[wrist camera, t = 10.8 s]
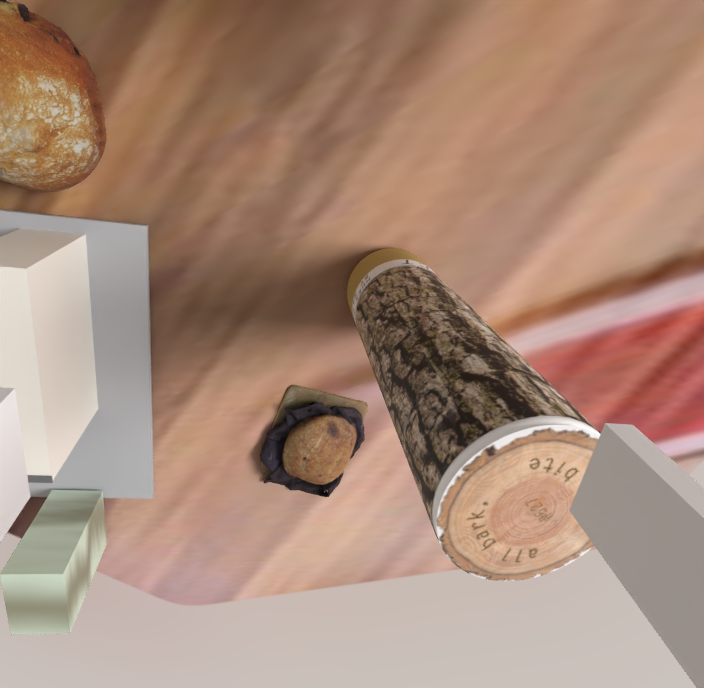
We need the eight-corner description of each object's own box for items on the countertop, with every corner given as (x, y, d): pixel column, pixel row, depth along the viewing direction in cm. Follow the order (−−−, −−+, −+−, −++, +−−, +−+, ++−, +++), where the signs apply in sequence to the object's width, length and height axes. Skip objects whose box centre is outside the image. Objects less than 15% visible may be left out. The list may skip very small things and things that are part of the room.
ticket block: (-42, 204, 33) (-156, 233, 25) (148, 224, 35) (105, 258, 27) (5, 492, 43) (-65, 587, 34) (154, 494, 45) (123, 585, 36)
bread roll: (-28, 134, 35) (-93, 197, 30) (-78, -41, 28) (-178, 1, 22) (122, 168, 37) (86, 233, 32) (113, 14, 30) (64, 65, 24)
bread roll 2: (285, 377, 42) (285, 398, 39) (376, 401, 45) (383, 424, 41) (249, 475, 46) (247, 503, 43) (335, 494, 48) (339, 522, 45)
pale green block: (52, 489, 42) (-1, 574, 34) (102, 490, 43) (63, 573, 35) (58, 543, 44) (11, 634, 37) (106, 543, 45) (70, 633, 37)
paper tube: (377, 343, 42) (496, 608, 19) (327, 282, 39) (396, 506, 16) (445, 293, 41) (655, 511, 18) (398, 227, 38) (576, 384, 15)
